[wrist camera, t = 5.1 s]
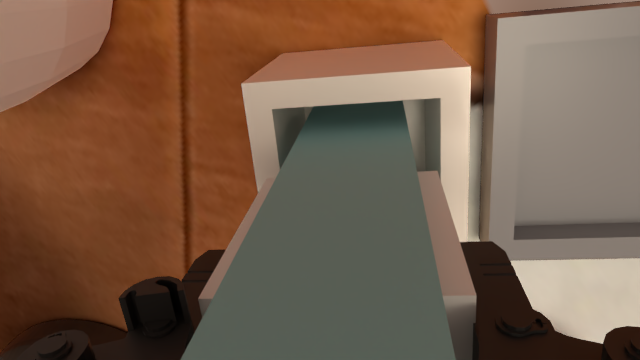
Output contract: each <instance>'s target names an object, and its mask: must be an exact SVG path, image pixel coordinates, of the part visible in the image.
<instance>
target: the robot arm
mask: <svg viewBox="0 0 640 360" xmlns="http://www.w3.org/2000/svg"><path fill="white" fill-rule="evenodd" d="M417 173H418V178H419V183H420V188H421V193H422V198H423V203H424V207H425V212H426V217H427V222H428V227H429V232H430V237H431V242H432V246H433V251H434V256H435V261H436V266H437V271H438V276H439V281H440V286H441V290H442V295H443V300H444V305H445V310H446V315H447V320H448V325H449V329H450V334H451V339H452V344H453V349H454V354H455V359H456V360H640V327H631V326H626V327H620V328H615V329H613V330H612V331H610V332H609V333H607V334H606V336H605V339H604V342H603V344H600V343H596V342H591V341H586V340H581V339H577V338H573V337H569V336H566V335H563V334H561V333H559V332H556V331H555V330H554V328H553V326H552V324H551V322H550V320H548V319H547V318H546V317H545V316H544V315H543V314H541V313H540V312H537V311H535V310H533V309H532V307H531V304H530V302H529V300H528V298H527V296H526V294H525V292H524V290H523V287H522V285H521V283H520V281H519V279H518V277H517V276H516V273H515V270H514V268H513V266H511V262H510V260H509V258H508V256H507V254H506V251H504V250H503V249H502V248H500V247H499V246H498V245H497V244H495V243H494V242H493V241H482V242H460V241H459V238H458V235H457V231H456V228H455V225H454V222H453V219H452V215H451V212H450V209H449V206H448V203H447V199H446V196H445V193H444V190H443V187H442V183H441V180H440V177H439V174H438V171H421V172H417ZM275 179H276V178H272V179H266V180H265V182H264V184H263V186H262V187H261V189H260V191H259V193H258V194H257V196H256V198H255V200H254V201H253V203H252V205H251V207H250V208H249V210H248V212H247V214H246V216H245V217H244V219H243V221H242V223H241V224H240V226H239V228H238V230H237V231H236V233H235V235H234V237H233V238H232V240H231V242H230V244H229V245H228V247H227V249H226V250H208V251H207V252H205V253H204V254H203V255H201V256H200V257H199V258H197V259H196V260H195V261H194V262H193V264H192V265H191V267H190V269H189V270H188V273H186V275H185V276H184V278H183V279H182V282H181V281H180V280H179V279H177V278H173V277H170V276H168V277H155V278H150V279H146V280H144V281H141V282H139V283H137V284H134V285H133V286H131V287H130V288H128V289H127V290H126V291H124V293H123V294H122V295H121V296H120V297H119V301H120V305H121V308H122V311H123V315H124V318H125V322H126V325H127V328H128V333H125V332H123V331H121V330H118V329H116V328H113V327H110V326H107V325H103V324H100V323H95V322H90V321H83V320H55V321H49V322H45V323H41V324H38V325H35V326H33V327H31V328H29V329H27V330H25V331H23V332H22V333H21V334H19V335H18V336H17V337H16V338H15V339H14V340H13V341H12V342H11V343H10V344H9V345H8V346H7V347H6V348H5V349H3V350H2V351H1V352H0V360H181V358H182V356H183V354H184V352H185V350H186V348H187V346H188V344H189V342H190V341H191V339H192V337H193V335H194V333H195V331H196V329H197V327H198V325H199V323H200V322H201V320H202V318H203V316H204V314H205V312H206V310H207V308H208V306H209V304H210V303H211V301H212V299H213V297H214V295H215V293H216V291H217V289H218V287H219V285H220V283H221V282H222V280H223V278H224V276H225V274H226V272H227V270H228V268H229V266H230V264H231V263H232V261H233V259H234V257H235V255H236V253H237V251H238V249H239V247H240V245H241V244H242V242H243V240H244V238H245V236H246V234H247V232H248V230H249V228H250V226H251V224H252V223H253V221H254V219H255V217H256V215H257V213H258V211H259V209H260V207H261V205H262V204H263V202H264V200H265V198H266V196H267V194H268V192H269V190H270V188H271V186H272V185H273V183H274V181H275Z"/></svg>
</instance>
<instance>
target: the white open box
mask: <svg viewBox="0 0 640 360" xmlns="http://www.w3.org/2000/svg"><path fill="white" fill-rule="evenodd" d="M241 87H242V93H243V100H244V106H245V113H246V119H247V126H248V132H249V139H250V145H251V152H252V158H253V165H254V171H255V178H256V184H257V190H258V193H259V191H260V189H261V187H262V186H263V184H264V182H265V180H266V179H272V178H276V177H277V175H278V173H279V171H280V169H281V167H282V165H283V164H284V162H285V160H286V158H287V156H288V154H289V152H290V150H291V148H292V146H293V145H294V143H295V141H296V139H297V137H298V135H299V133H300V131H301V129H302V127H303V126H304V124H305V122H306V120H307V118H308V116H309V114H310V112H311V110H312V108H313V106H326V105H341V104H356V103H371V102H386V101H401V100H403V105H404V110H405V115H406V120H407V124H408V129H409V134H410V139H411V144H412V149H413V154H414V159H415V163H416V168H417V172H421V171H438V174H439V177H440V180H441V183H442V187H443V190H444V193H445V196H446V199H447V203H448V206H449V209H450V212H451V215H452V219H453V222H454V225H455V228H456V231H457V235H458V238H459V241H460V242H467V233H468V186H469V139H470V93H471V66H470V65H469V64H468V63H467V62H466V61H465V60H464V59H463V58H461V57H460V56H459V55H458V54H457V53H456V52H455V51H454V50H453V49H452V48H451V47H450V46H449V45H448V44H447V43H445V42H444V41H443V40H437V41H425V42H413V43H401V44H389V45H377V46H365V47H353V48H341V49H329V50H316V51H304V52H292V53H282V54H281V55H280V56H278V57H277V58H275V59H274V60H273V61H271V62H270V63H269V64H267V65H266V66H265V67H263V68H262V69H260V70H259V71H258V72H256V73H255V74H254V75H252V76H251V77H249V78H248V79H247V80H245V81H244V82H243V83H241Z"/></svg>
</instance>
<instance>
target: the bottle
mask: <svg viewBox="0 0 640 360" xmlns="http://www.w3.org/2000/svg"><path fill="white" fill-rule="evenodd" d="M112 4H113V0H0V112H2V111H5V110H7V109H9V108H12V107H14V106H17V105H19V104H21V103H24V102H26V101H28V100H29V99H31V98H33V97H34V96H36V95H38V94H39V93H41V92H42V91H44V90H46V89H47V88H49V87H51V86H52V85H54V84H55V83H57V82H59V81H60V80H62V79H64V78H65V77H67V76H69V75H70V74H72V73H73V72H75V71H77V70H78V69H80V68H81V67H82V66H83V65H84V64H86V63H87V62H88V61H89V60H90V59H91V58H92V57H93V56H94V55H95V54H96V53H97V52H98V51H99V49H100V47H101V45H102V43H103V41H104V39H105V37H106V35H107V33H108V30H109V28H110V20H111V12H112Z"/></svg>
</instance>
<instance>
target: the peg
mask: <svg viewBox="0 0 640 360" xmlns="http://www.w3.org/2000/svg"><path fill="white" fill-rule="evenodd" d="M181 360H456V359H455V354H454V349H453V344H452V339H451V334H450V329H449V325H448V320H447V315H446V310H445V305H444V300H443V295H442V290H441V286H440V281H439V276H438V271H437V266H436V261H435V256H434V251H433V246H432V242H431V237H430V232H429V227H428V222H427V217H426V212H425V207H424V203H423V198H422V193H421V188H420V183H419V178H418V173H417V168H416V163H415V159H414V154H413V149H412V144H411V139H410V134H409V129H408V124H407V120H406V115H405V110H404V105H403V100H401V101H386V102H371V103H356V104H341V105H326V106H313V108H312V110H311V112H310V114H309V116H308V118H307V120H306V122H305V124H304V126H303V127H302V129H301V131H300V133H299V135H298V137H297V139H296V141H295V143H294V145H293V146H292V148H291V150H290V152H289V154H288V156H287V158H286V160H285V162H284V164H283V165H282V167H281V169H280V171H279V173H278V175H277V177H276V179H275V181H274V183H273V185H272V186H271V188H270V190H269V192H268V194H267V196H266V198H265V200H264V202H263V204H262V205H261V207H260V209H259V211H258V213H257V215H256V217H255V219H254V221H253V223H252V224H251V226H250V228H249V230H248V232H247V234H246V236H245V238H244V240H243V242H242V244H241V245H240V247H239V249H238V251H237V253H236V255H235V257H234V259H233V261H232V263H231V264H230V266H229V268H228V270H227V272H226V274H225V276H224V278H223V280H222V282H221V283H220V285H219V287H218V289H217V291H216V293H215V295H214V297H213V299H212V301H211V303H210V304H209V306H208V308H207V310H206V312H205V314H204V316H203V318H202V320H201V322H200V323H199V325H198V327H197V329H196V331H195V333H194V335H193V337H192V339H191V341H190V342H189V344H188V346H187V348H186V350H185V352H184V354H183V356H182V358H181Z"/></svg>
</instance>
